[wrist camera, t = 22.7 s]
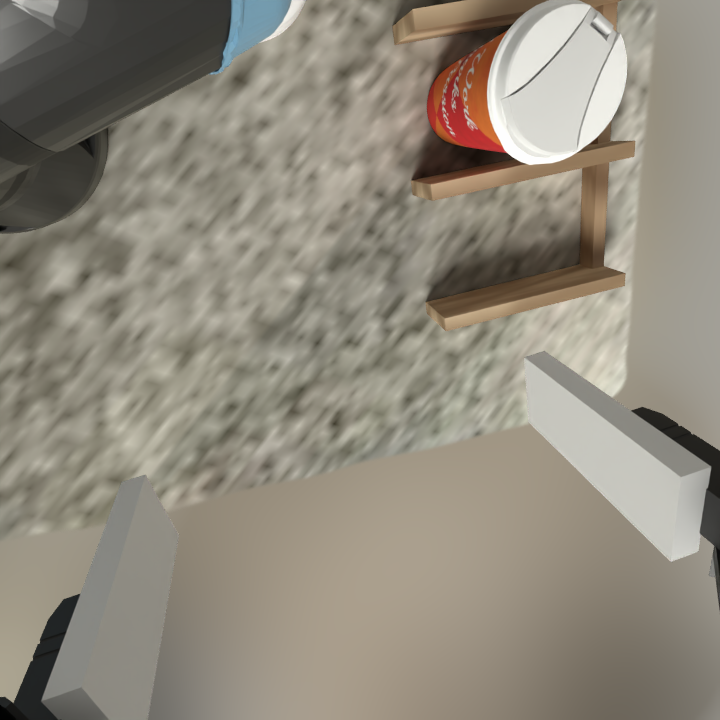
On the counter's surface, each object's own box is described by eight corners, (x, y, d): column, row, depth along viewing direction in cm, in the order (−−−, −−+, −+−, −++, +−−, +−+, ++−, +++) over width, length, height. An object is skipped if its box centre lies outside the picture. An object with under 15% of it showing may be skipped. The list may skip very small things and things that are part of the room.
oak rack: (368, -177, 31) (388, -231, 27) (608, -205, 33) (665, -260, 29) (426, 313, 46) (446, 331, 42) (589, 273, 48) (624, 285, 44)
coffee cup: (447, 23, 37) (560, -49, 23) (524, 84, 40) (664, 52, 26) (394, 127, 39) (468, 117, 26) (470, 178, 42) (574, 193, 29)
